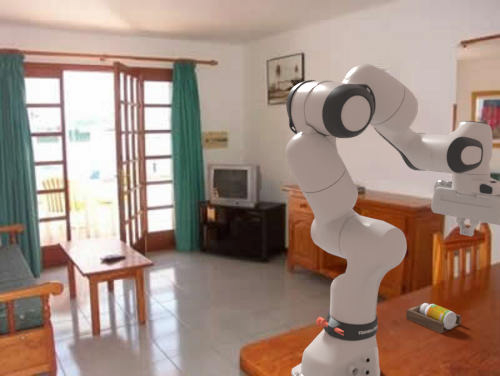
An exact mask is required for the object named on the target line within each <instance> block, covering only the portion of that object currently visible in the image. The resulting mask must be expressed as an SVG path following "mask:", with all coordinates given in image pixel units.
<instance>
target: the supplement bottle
mask: <svg viewBox="0 0 500 376" xmlns="http://www.w3.org/2000/svg"><path fill="white" fill-rule="evenodd" d="M427 303H428V302H424V303H421V304H422V305H421V304H420V305H421V307H420V314H423V315H425V316H427V317H430V318H432V319H435V320H437V321H440V322H442V323H444V327H443V328H445V329H450V330H452V329H454V328H453V326H454V325H455V323H456V314H457V313H455V312H454V311H451V310H450V309H448V308H445V307H443V306H440V305H437V304H435V303H429V304H430V305H429V304H427ZM451 328H452V329H451Z"/></svg>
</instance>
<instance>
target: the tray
mask: <svg viewBox="0 0 500 376" xmlns="http://www.w3.org/2000/svg"><path fill="white" fill-rule="evenodd" d="M426 303H427V304H429V305H430V304H431V303H428V302H426ZM422 304H423V303H421V304H418V305H416V306H414V307H410V308H408V309H406V315H405V316H406V317H405V318H407V319H406V320H409V321H411V322H414V323H416V324H418V325H421V326H423V327H426V328H428V329H430V330H433V331H435V332H437V333H439V334H443V333H445V332H447V331H450V330H452V329H454V328H457V327H458V326H461V323H462V315H460V314H457V313H455V314H456V323H455V325H454V326H453V328H451V329H445V328H443V327H444V323H442V322H440V321H437V320H435V319H432V318H430V317H427V316H425V315H423V314H420V307H421V305H422Z"/></svg>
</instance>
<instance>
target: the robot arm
mask: <svg viewBox="0 0 500 376" xmlns="http://www.w3.org/2000/svg"><path fill="white" fill-rule="evenodd" d="M418 111H419V103H418V99H417V98H416V96H415V94H414V93H413V92H412V90H410V89H409V88H408V87H407V86H406V85H405V84H404V83H402V82H401V81H400V80H398V79H397V78H396V77H394V76H393V75H391V74H390V73H388V72H386V71H385V70H384V69H381V68H379V67H377V66H374V65H373V64H369V63H361V64H357V65H356V66H354V67H352V68H351V69H350V70H349V71H348V72H347V73H346V74H345V76H344V78H343V80H342V81H341V82H339V81H337V82H336V81H332V80H326V79H325V80H314V79H313V80H312V79H308V80H304V81H302V82H299V83H297V84H296V85H295V86H293V87H292V88H291V89H290V91H289V92H288V94H287V97H286V112H287V116H288V126H289V129H290V130H291V131H292V132H293V133H294V136H292V138H291V139H289V141H288V142H287V144H286V148H285V156H286V160H287V163H288V166H289V168H290V171H291V173H292V176H293V178H294V180H295V182H296V184H297V185H298V187H299V189H300V191H301V192H302V193H301V194H303V197H304V198H305V200H306V201H307V203H308V205H309V207H310V209H311V211H312V213H313V216H314V219H313V220H312V223H311V226H310V238H311V239H312V241H313V243H314V245H316V246H318V247H319V248H320V249H322V250H323V251H325V252H326V253H328V254H330V255H333V256H336V257H340V258H342V259H344V260H345V259H346V263H347V266H346V269H345V272H344V273H342V274H341V273H340V274H339V275H337V277H335V278H334V279H333V280H332V282H331V284H330V291H329V292H330V295H329V296H330V299H329V310H328V313H327V315H326V319H324V318H323V317H321V316H319V317H317V319H316V321H315V323H316V325H318V326H319V327H321V328H323V329H322V330H321V331H320V333H318V335H316V337H315V338H314V339H313V340H312V341H311V343H309V345H308V346H306V348H305V349H304V351H303V353H302V359H301V362H300V363H299V364H297V365H296V366H294V367H292V368H291V373H290V374H291V376H381V368H380V358H379V357H380V356H379V348H378V343H377V336H376V334H377V333H378V326H379V323H378V316H377V304H378V295H379V294H378V293H379V288H380V284H381V282H382V280H383V278H384V277H385V276H386V274H387V273H389V272H390V271H391V270H392V269H395V268H396V267H398V266H400V264H401V262H403V260H404V258H405V256H406V254H407V250H408V249H407V247H408V244H407V239H406V235H405V233H404V232H403V231H402V230H401V229H400V228H398V227H397V226H395V225H393V224H391V223H388V222H386V221H385V220H381V219H376V218H372V217H368V216H363V215H361V214H359V213H357V212H356V211H355V210H354V207H355V206H356V203H357V200H358V197H359V191H358V188H357V186H356V184H355V182H354V180H353V179H352V177H351V174H350V173H349V171H348V169H347V166H346V164H345V162H344V161H343V159H342V157H341V155H340V153H339V151H338V147H337V139H351V138H356V137H358V136H359V135H361V134H362V133H363V132H365V130H367V128H368V127H369V125H370V126H371V127H373V129H374V130H375V131H376V133H377V134H379V135H380V137H382V139H383V140H385V141H386V142H387V143H388V144H390V146H392V147H393V148H394V149H395V150H396V151H397V152H398V154H400V156H401V158H402V160H403V162H404V163H405V165H406V166H407V167H408V168H409V169H411V170H413V171H423V172H424V171H427V172H435V173H436V172H437V173H443V174H444V173H446V174H452V180H451V181H449V180H445V179H444V180H443V179H440V180H438V181H436V182H435V183H434V185H433V196H432V198H431V199H432V200H431V206H430V209H431V211H432V213H434V214H440V215H443V216H449V217H455V218H456V223H457V225H458V227H459V234H460V235H463V236H467V237H474V234H475V230H476V228H477V227H478V225H479V224H480V222H481V223H486V224H490V225H491V224H492V225H496V226H497V225H498V226H500V181H499V180H497V179H494V178H492V177H491V168H490V164H491V163H490V162H491V160H492V157H493V143H494V141H493V131H492V127H491V125H490V124H488V123H487V122H484V121H474V120H464V121H461V122H459V124H458V126H457V128H456V129H455V130H454V131H452V132H450V133H448V134H439V133H437V134H435V133H423V132H415V131H413V130H412V128H411V126H412V125H413V124H414V122H415V120H416V118H417V115H418ZM466 220H469V224H471V225H470V226H469V227H467V226H466V223H465V221H466Z"/></svg>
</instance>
